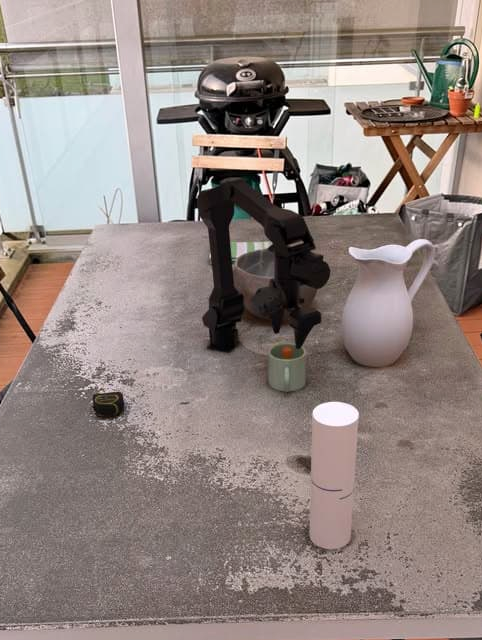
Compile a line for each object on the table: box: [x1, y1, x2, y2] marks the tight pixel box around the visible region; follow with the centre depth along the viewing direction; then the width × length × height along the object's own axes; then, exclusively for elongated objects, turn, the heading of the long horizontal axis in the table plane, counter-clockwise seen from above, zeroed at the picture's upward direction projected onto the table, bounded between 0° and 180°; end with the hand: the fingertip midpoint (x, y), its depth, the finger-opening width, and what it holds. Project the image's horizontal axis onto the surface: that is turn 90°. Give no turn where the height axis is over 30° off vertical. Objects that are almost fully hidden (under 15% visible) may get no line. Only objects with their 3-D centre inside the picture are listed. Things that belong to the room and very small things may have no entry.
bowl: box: [232, 248, 319, 321], centre depth 201 cm, size 24×24×15 cm
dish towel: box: [208, 240, 273, 265], centre depth 243 cm, size 18×23×3 cm
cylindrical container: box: [308, 401, 360, 550], centre depth 121 cm, size 7×7×25 cm
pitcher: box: [341, 238, 436, 368], centre depth 175 cm, size 24×17×28 cm
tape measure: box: [92, 391, 125, 417], centre depth 163 cm, size 7×7×4 cm
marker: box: [282, 347, 292, 360], centre depth 170 cm, size 2×2×8 cm
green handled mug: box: [267, 342, 307, 393], centre depth 169 cm, size 12×9×8 cm
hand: (287, 340), depth 166 cm, fingers open, 9 cm apart
